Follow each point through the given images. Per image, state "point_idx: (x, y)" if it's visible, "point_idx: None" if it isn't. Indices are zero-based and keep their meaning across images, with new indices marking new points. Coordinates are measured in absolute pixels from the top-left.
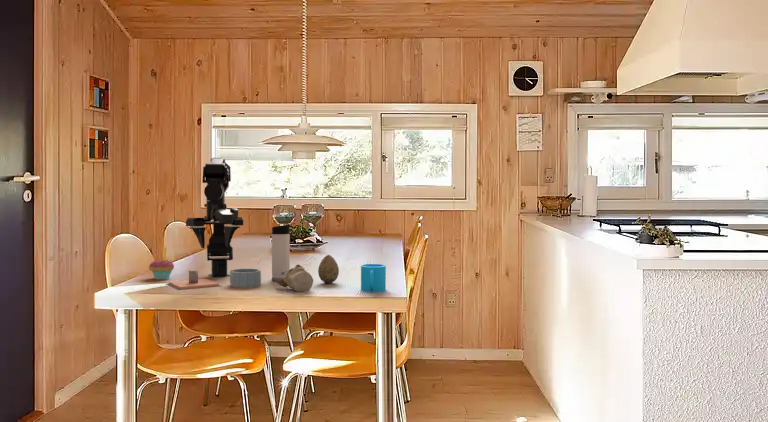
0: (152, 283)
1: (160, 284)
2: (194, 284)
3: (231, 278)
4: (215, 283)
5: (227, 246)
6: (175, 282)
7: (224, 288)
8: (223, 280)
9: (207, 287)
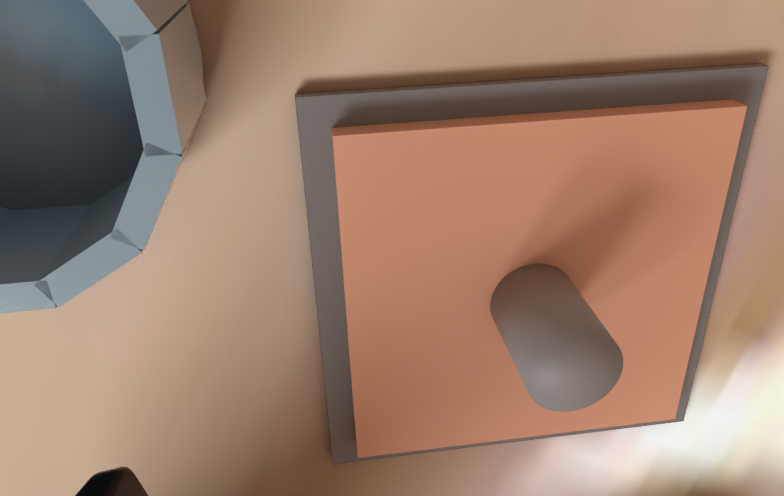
0: (711, 492)
1: (690, 442)
2: (570, 192)
3: (187, 72)
4: (362, 164)
5: (129, 486)
6: (654, 360)
7: (294, 20)
8: (190, 459)
9: (467, 91)
